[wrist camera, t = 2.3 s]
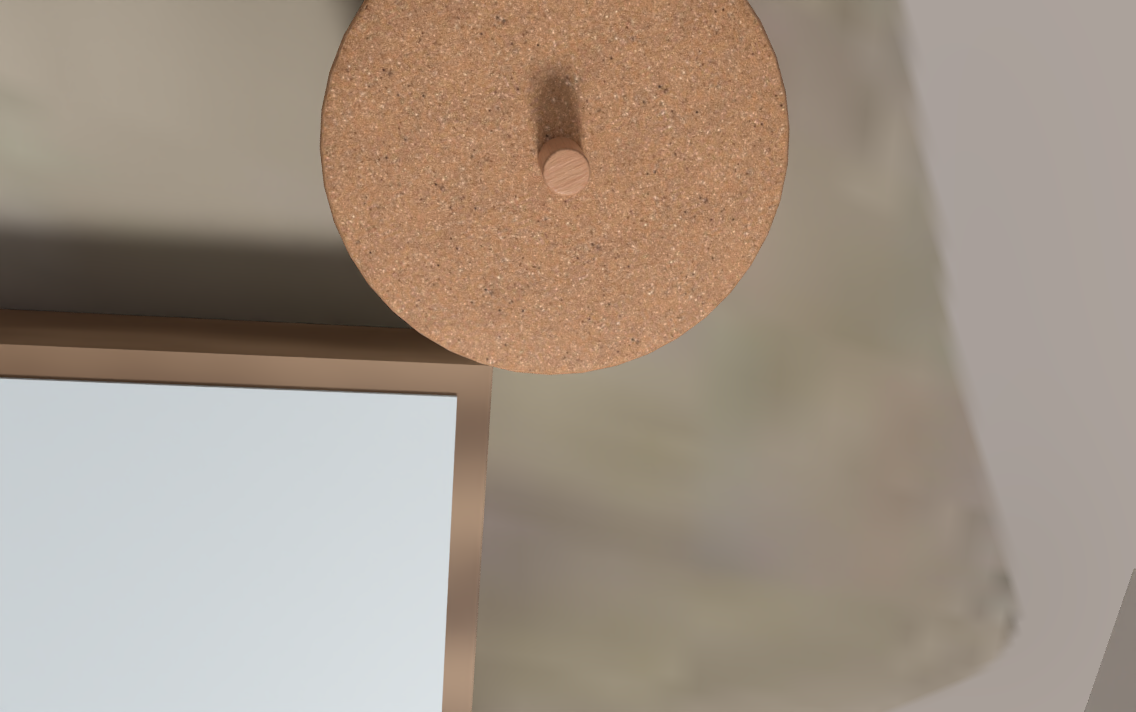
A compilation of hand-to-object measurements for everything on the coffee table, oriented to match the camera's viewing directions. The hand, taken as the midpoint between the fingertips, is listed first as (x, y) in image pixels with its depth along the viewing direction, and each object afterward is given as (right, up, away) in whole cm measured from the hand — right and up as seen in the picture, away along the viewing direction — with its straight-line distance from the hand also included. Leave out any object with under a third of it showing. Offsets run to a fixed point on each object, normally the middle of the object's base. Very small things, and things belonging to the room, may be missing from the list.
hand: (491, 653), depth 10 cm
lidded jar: (0, +10, +20) cm, 23 cm away
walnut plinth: (-10, -3, +24) cm, 27 cm away
